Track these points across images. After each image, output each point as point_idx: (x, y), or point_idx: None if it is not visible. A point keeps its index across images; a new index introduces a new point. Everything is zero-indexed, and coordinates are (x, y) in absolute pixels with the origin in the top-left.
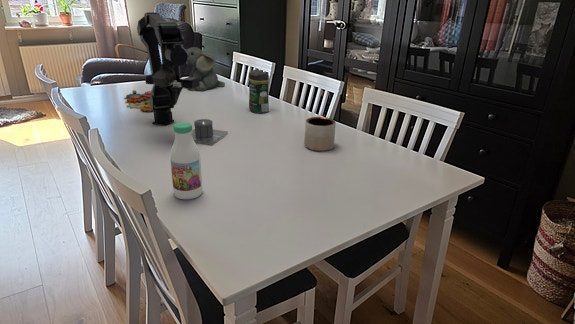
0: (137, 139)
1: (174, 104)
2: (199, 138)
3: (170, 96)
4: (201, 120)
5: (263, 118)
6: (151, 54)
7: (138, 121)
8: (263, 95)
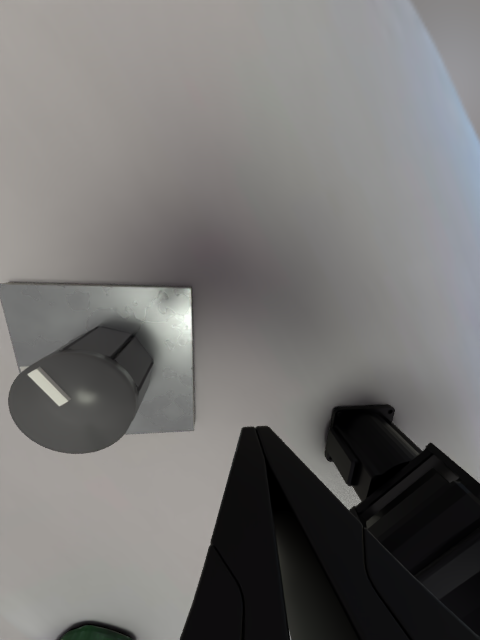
0: (376, 233)
1: (243, 427)
2: (98, 316)
3: (323, 525)
4: (102, 424)
5: (29, 601)
6: None
7: (447, 406)
8: None
